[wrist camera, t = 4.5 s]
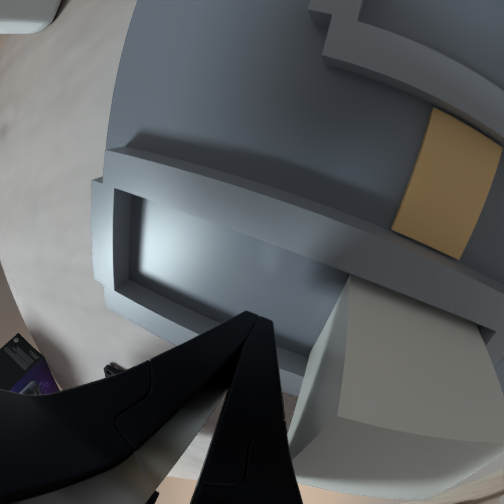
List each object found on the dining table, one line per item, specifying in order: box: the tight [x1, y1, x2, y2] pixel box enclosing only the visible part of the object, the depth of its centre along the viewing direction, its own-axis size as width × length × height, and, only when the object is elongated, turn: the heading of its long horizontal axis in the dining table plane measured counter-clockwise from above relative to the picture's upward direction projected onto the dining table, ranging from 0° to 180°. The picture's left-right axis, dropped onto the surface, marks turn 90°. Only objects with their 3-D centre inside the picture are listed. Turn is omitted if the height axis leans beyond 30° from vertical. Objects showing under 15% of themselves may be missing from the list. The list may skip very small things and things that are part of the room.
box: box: [0, 333, 60, 395], centre depth 24 cm, size 17×7×12 cm, turn 167°
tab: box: [287, 274, 504, 500], centre depth 6 cm, size 4×5×5 cm
